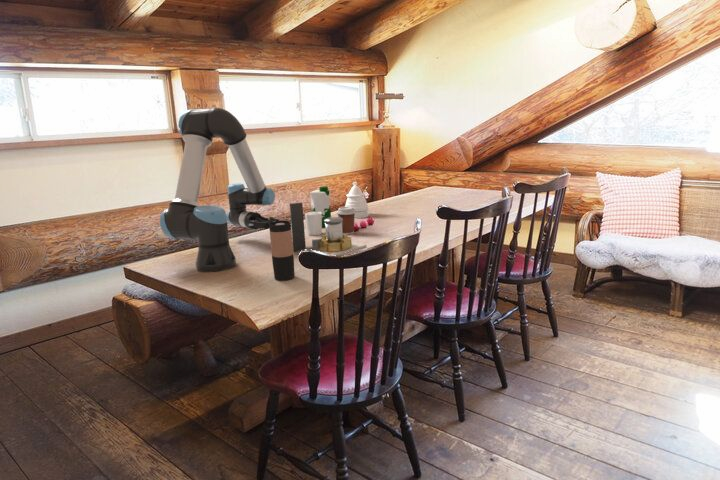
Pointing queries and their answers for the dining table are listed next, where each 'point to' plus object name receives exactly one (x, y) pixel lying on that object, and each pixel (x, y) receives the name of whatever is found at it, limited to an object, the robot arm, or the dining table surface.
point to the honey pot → (357, 201)
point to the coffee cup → (347, 219)
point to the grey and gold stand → (320, 244)
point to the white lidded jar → (333, 229)
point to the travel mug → (282, 250)
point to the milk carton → (321, 202)
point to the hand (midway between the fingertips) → (283, 226)
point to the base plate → (354, 246)
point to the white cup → (313, 223)
